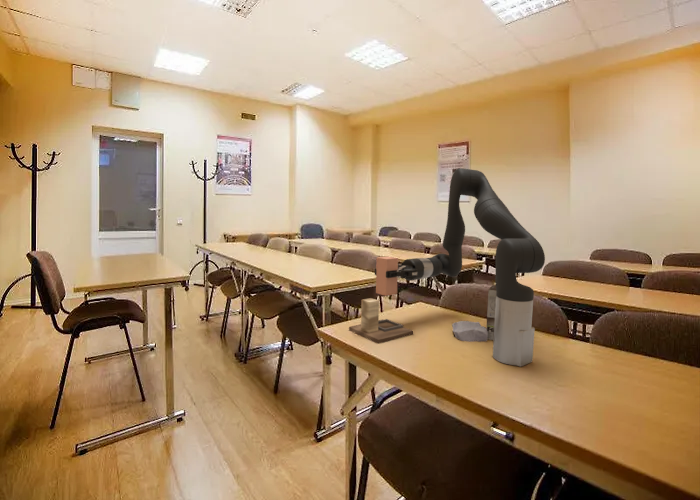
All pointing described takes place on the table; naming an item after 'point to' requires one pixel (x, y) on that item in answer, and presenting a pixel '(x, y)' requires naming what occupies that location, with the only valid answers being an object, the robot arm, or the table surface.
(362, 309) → the birch column
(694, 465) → the table surface
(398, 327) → the slot frame
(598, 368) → the table surface
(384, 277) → the terracotta pillar
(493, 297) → the coffee box
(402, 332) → the brown board
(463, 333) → the stone block
